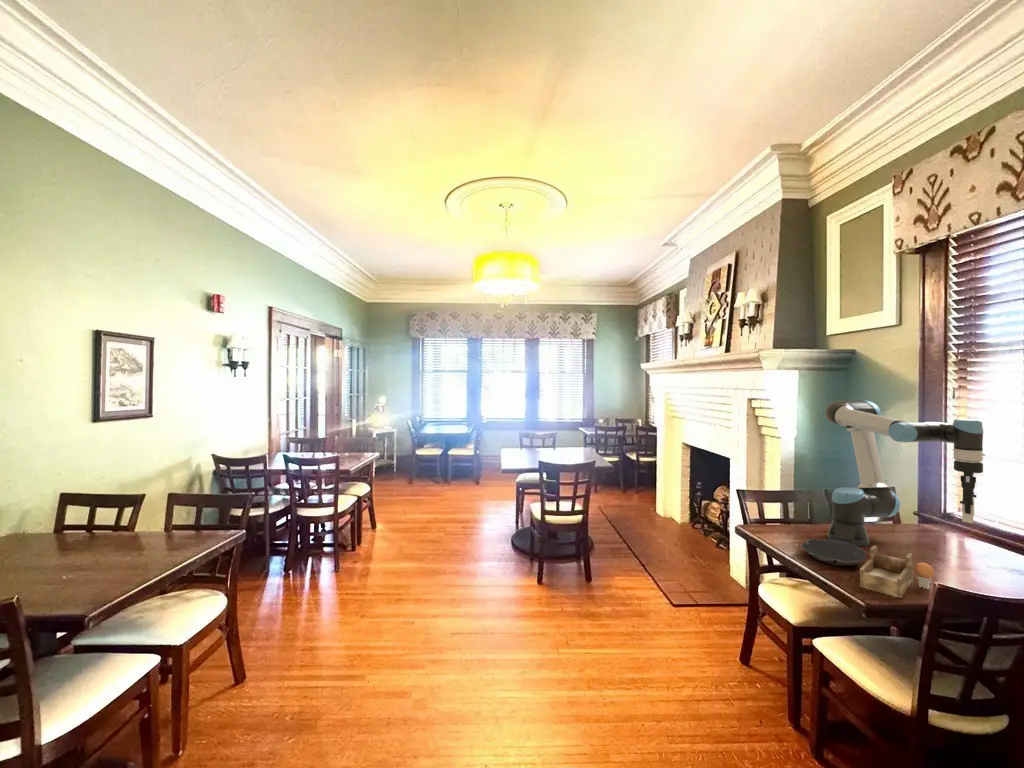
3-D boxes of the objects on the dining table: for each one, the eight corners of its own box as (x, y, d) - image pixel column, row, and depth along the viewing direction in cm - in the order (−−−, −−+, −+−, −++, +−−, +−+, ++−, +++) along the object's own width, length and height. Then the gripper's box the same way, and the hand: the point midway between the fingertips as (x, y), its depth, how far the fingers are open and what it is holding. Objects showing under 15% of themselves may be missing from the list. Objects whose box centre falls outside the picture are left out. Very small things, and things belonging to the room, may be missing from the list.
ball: (913, 576, 155) (913, 562, 155) (915, 573, 158) (915, 559, 158) (932, 581, 151) (932, 567, 151) (935, 577, 154) (934, 563, 154)
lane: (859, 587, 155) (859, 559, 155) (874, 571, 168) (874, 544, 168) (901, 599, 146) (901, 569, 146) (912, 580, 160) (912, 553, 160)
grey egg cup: (917, 586, 155) (917, 576, 155) (918, 584, 157) (918, 573, 157) (929, 590, 152) (929, 579, 152) (931, 587, 154) (931, 576, 154)
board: (882, 566, 172) (881, 553, 172) (840, 576, 166) (840, 563, 166) (827, 546, 193) (826, 535, 193) (788, 555, 187) (788, 543, 187)
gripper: (982, 466, 151) (983, 528, 151) (983, 458, 168) (983, 513, 168) (951, 463, 157) (952, 523, 157) (955, 455, 174) (955, 509, 174)
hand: (968, 518), depth 162 cm, fingers open, 13 cm apart
